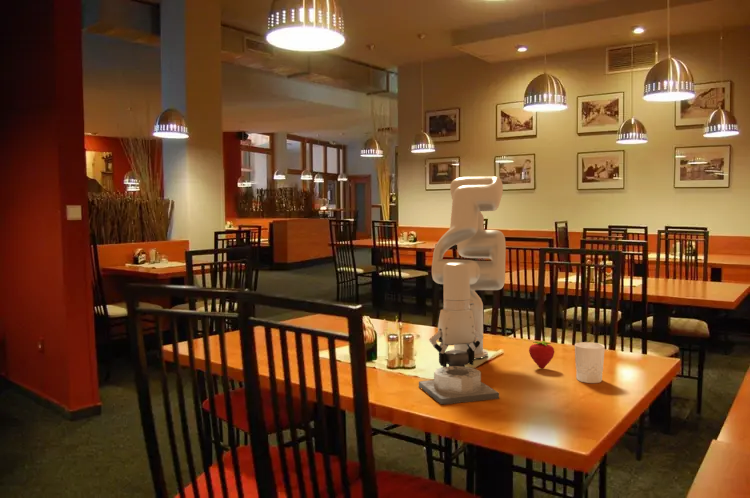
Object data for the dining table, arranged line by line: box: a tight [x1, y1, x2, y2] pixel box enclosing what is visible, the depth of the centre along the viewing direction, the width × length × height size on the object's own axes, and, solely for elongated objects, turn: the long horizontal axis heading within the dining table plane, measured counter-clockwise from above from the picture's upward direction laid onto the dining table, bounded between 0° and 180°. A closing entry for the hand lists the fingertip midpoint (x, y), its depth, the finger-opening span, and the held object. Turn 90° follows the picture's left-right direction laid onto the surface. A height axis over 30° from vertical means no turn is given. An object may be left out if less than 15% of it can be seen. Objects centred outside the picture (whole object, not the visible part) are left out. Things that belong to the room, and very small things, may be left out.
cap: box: [445, 349, 469, 367], centre depth 173 cm, size 7×7×7 cm
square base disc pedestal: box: [418, 365, 500, 405], centre depth 158 cm, size 16×16×6 cm
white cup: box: [574, 341, 605, 384], centre depth 168 cm, size 8×8×10 cm
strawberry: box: [528, 337, 555, 369], centre depth 181 cm, size 6×8×10 cm
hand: (456, 364), depth 173 cm, fingers open, 7 cm apart
